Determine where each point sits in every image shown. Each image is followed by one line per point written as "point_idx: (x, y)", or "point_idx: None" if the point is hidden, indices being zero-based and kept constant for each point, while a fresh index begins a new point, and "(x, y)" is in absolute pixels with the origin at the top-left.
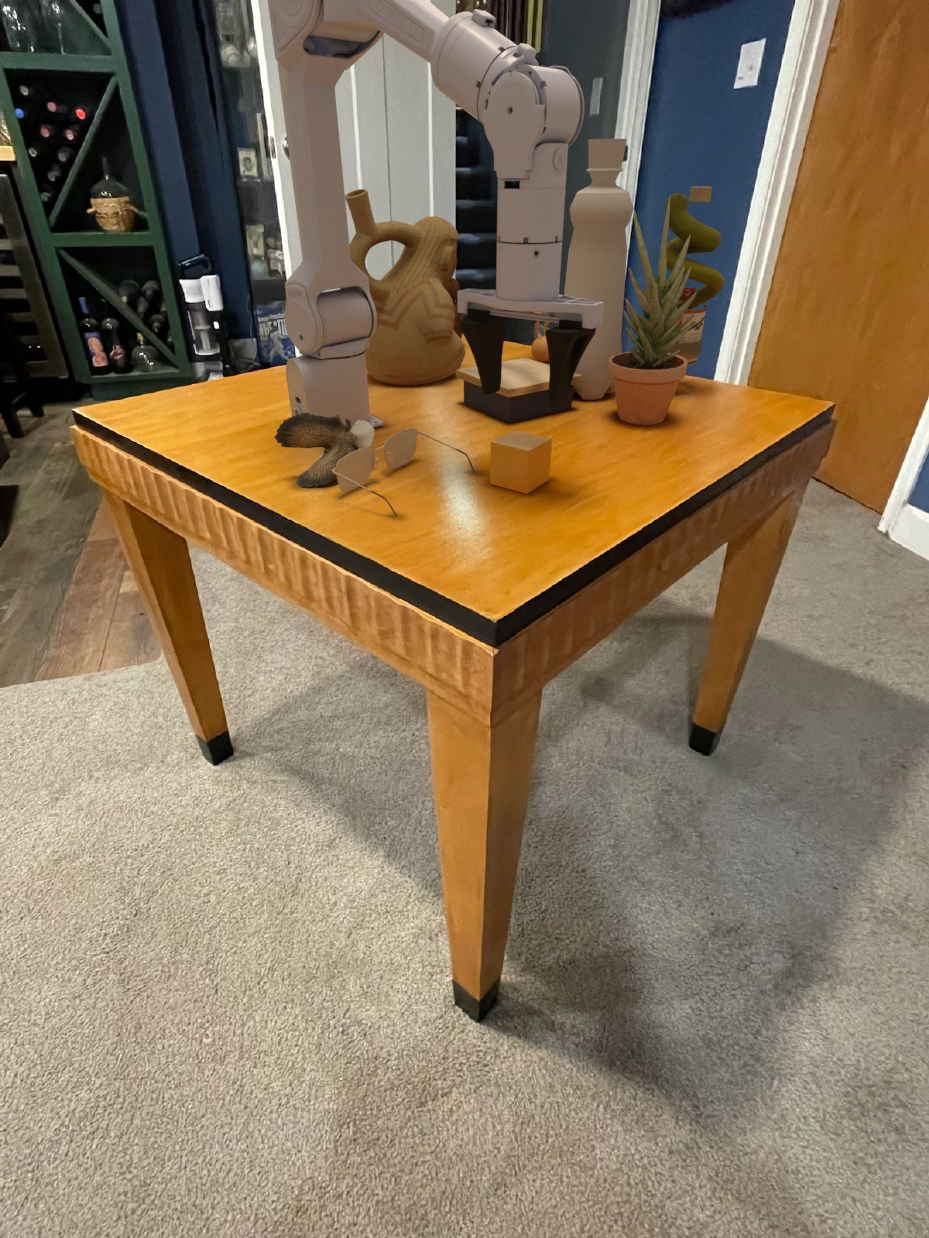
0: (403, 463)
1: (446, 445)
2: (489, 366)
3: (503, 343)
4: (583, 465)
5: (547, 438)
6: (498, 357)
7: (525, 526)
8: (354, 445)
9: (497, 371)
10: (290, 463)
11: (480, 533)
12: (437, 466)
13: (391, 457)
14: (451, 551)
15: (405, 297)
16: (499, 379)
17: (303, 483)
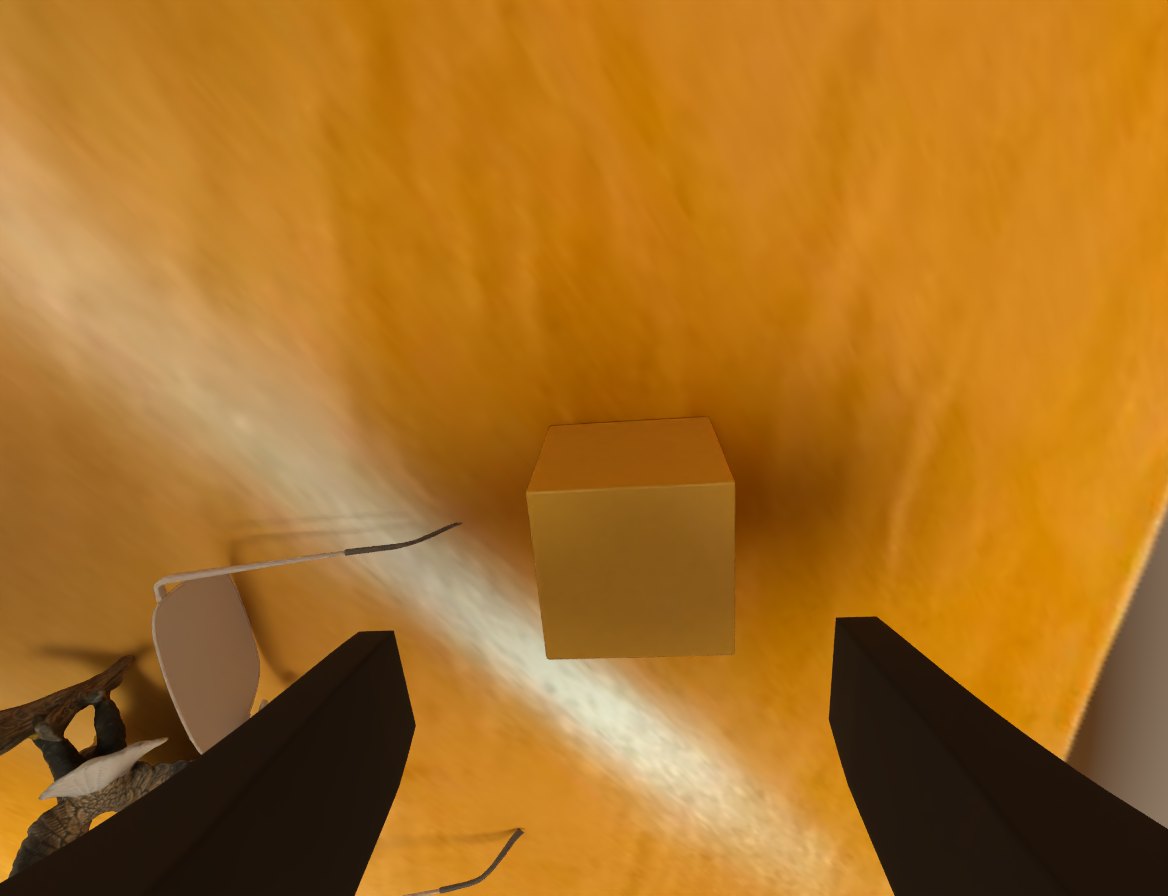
0: (239, 607)
1: (300, 558)
2: (338, 863)
3: (190, 851)
4: (741, 182)
5: (719, 497)
6: (278, 804)
7: (826, 713)
8: (132, 765)
9: (342, 740)
10: (28, 760)
11: (747, 792)
12: (322, 546)
13: None
14: (745, 875)
15: None
16: (367, 681)
17: None
